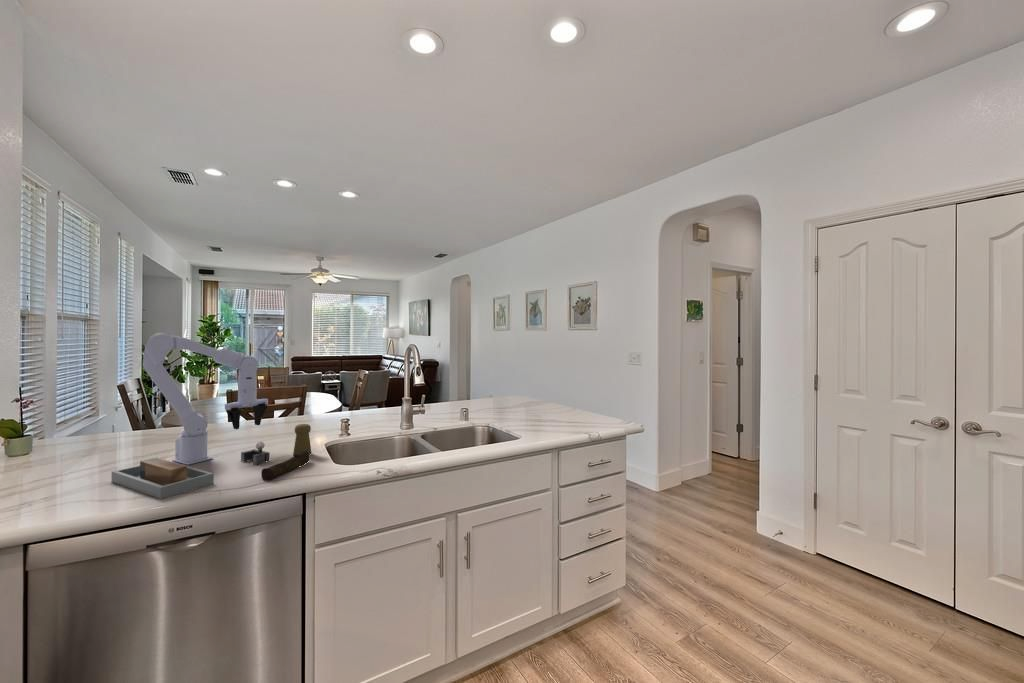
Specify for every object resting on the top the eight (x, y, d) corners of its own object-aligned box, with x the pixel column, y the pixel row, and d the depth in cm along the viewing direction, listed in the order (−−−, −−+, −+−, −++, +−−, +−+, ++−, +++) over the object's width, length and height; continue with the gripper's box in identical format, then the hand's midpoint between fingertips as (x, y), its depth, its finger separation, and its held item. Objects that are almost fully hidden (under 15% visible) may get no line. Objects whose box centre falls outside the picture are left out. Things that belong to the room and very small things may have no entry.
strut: (170, 488, 117) (170, 470, 117) (140, 478, 124) (140, 461, 124) (186, 483, 121) (186, 466, 121) (156, 474, 128) (156, 457, 127)
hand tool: (271, 482, 125) (271, 466, 125) (260, 480, 126) (260, 465, 126) (315, 463, 144) (316, 450, 144) (305, 462, 145) (305, 449, 145)
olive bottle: (297, 452, 155) (297, 422, 155) (314, 452, 156) (314, 422, 155) (289, 457, 149) (290, 426, 149) (307, 457, 149) (308, 426, 149)
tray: (111, 481, 122) (111, 471, 122) (164, 469, 134) (164, 459, 134) (160, 499, 111) (160, 487, 111) (213, 483, 123) (213, 473, 123)
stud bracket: (241, 461, 144) (241, 442, 143) (256, 457, 148) (256, 439, 148) (256, 464, 140) (256, 446, 140) (271, 460, 145) (271, 442, 145)
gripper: (233, 392, 145) (233, 432, 145) (273, 387, 158) (273, 424, 158) (221, 390, 148) (220, 429, 148) (261, 386, 161) (261, 422, 161)
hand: (247, 426), depth 153 cm, fingers open, 7 cm apart
